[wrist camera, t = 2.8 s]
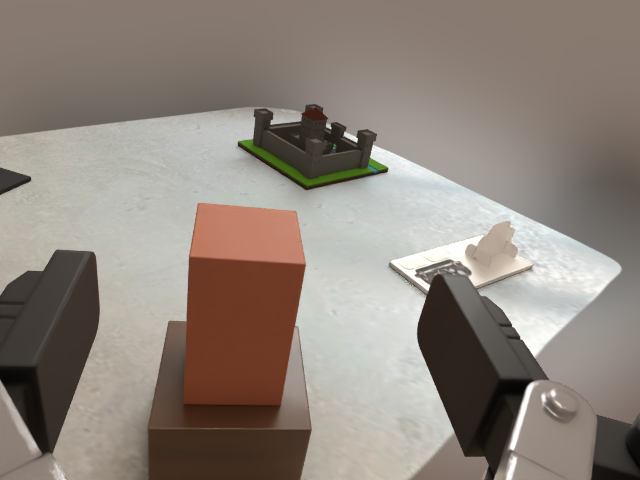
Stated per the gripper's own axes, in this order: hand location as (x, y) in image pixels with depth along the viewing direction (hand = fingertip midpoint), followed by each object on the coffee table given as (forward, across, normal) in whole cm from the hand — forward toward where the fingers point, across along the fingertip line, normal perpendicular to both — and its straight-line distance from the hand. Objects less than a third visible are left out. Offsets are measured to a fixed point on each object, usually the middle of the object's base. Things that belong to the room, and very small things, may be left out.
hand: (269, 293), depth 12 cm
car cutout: (+32, -23, +19) cm, 44 cm away
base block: (+11, 0, +19) cm, 22 cm away
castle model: (+57, -10, +19) cm, 61 cm away
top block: (+11, 0, +14) cm, 18 cm away
